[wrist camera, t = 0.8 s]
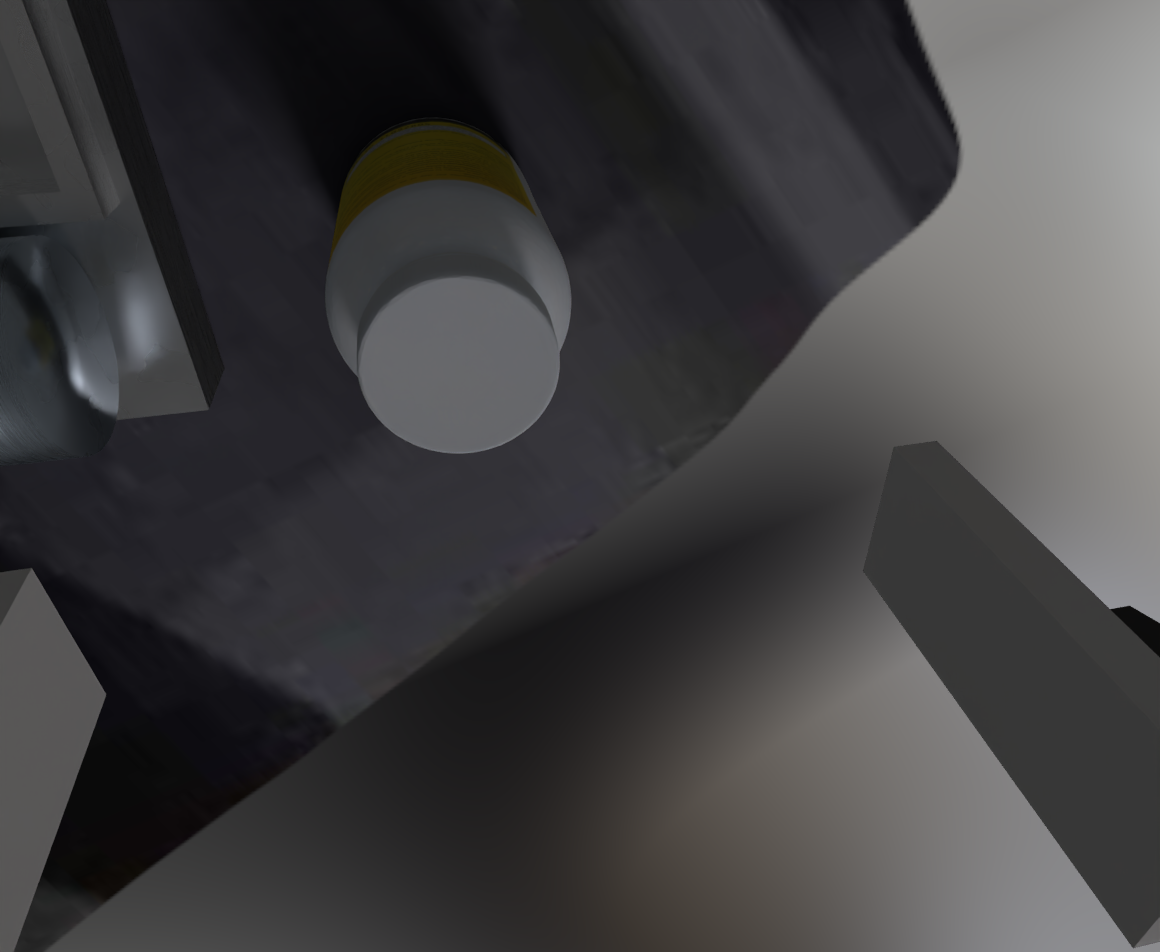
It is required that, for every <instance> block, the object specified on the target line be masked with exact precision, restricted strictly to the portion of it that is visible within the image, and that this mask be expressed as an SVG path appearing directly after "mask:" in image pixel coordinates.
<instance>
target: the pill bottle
mask: <svg viewBox="0 0 1160 952" xmlns="http://www.w3.org/2000/svg"><path fill="white" fill-rule="evenodd" d="M325 301H326V313H327V319H328V323H329V327H330V331H331V334H332V336H333V339H334V342H335V344H336V346H337V348H338V350H339V352H340V354H341V355H342V357H343V359H344V360H345V362H346V363H347V365H348V366H349V367H350V369H351V370H352V371H353V372H354V373H355V375H356V376H357V377H358V379H359V383H360V387H361V390H362V393H363V395H364V397H365V399H366V401H367V403H368V405H369V407H370V409H371V410H372V411H373V413H374V414H375V415H376V417H377V418H378V419H379V420H380V421H381V422H382V423H383V424H384V425H385V426H386V427H387V428H388V429H389V430H391V431H392V432H393V433H394V434H396V435H397V436H399V437H401V438H402V439H404V440H406V441H408V442H410V443H412V444H414V445H416V446H419V447H422V448H425V449H428V450H433V451H438V452H444V453H472V452H479V451H483V450H488V449H491V448H493V447H497V446H500V445H502V444H504V443H506V442H508V441H510V440H512V439H514V438H515V437H517V436H519V435H520V434H522V433H523V432H524V431H525V430H527V429H528V428H529V427H530V426H531V425H532V424H533V423H534V422H535V421H536V420H537V419H538V418H539V417H540V416H541V414H542V413H543V412H544V410H545V409H546V407H547V406H548V404H549V402H550V400H551V398H552V396H553V394H554V391H555V389H556V386H557V381H558V377H559V369H560V353H559V352H560V350H561V347H562V345H563V343H564V340H565V337H566V334H567V331H568V326H569V321H570V313H571V289H570V282H569V277H568V273H567V270H566V266H565V263H564V260H563V258H562V255H561V253H560V251H559V249H558V247H557V245H556V243H555V241H554V239H553V237H552V235H551V233H550V231H549V229H548V227H547V225H546V223H545V221H544V219H543V217H542V215H541V213H540V211H539V209H538V207H537V205H536V203H535V201H534V198H533V196H532V194H531V191H530V189H529V186H528V184H527V182H526V180H525V178H524V176H523V174H522V172H521V170H520V169H519V167H518V166H517V164H516V162H515V161H514V159H513V158H512V157H511V156H510V154H509V153H508V152H507V151H506V150H505V149H504V148H503V147H502V146H501V145H500V144H499V143H498V142H497V141H495V140H494V139H493V138H492V137H490V136H489V135H487V134H486V133H484V132H483V131H481V130H479V129H477V128H475V127H473V126H471V125H468V124H466V123H463V122H460V121H456V120H451V119H446V118H420V119H413V120H409V121H406V122H403V123H400V124H397V125H395V126H392V127H391V128H389V129H387V130H385V131H383V132H382V133H380V134H379V135H378V136H376V137H375V138H374V139H373V140H371V141H370V142H369V143H368V144H367V145H366V146H365V147H364V148H363V149H362V151H361V152H360V153H359V155H358V156H357V157H356V159H355V161H354V162H353V164H352V166H351V168H350V170H349V172H348V174H347V177H346V179H345V182H344V185H343V189H342V194H341V200H340V205H339V210H338V216H337V221H336V226H335V231H334V238H333V243H332V249H331V255H330V261H329V266H328V272H327V278H326V286H325Z"/></svg>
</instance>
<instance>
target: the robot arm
mask: <svg viewBox="0 0 1160 952" xmlns="http://www.w3.org/2000/svg"><path fill="white" fill-rule="evenodd" d="M863 571H864V573H865V574H866V576H867V577H868V578H869V580H870V581H871V583H872V584H873V585H874V587H875V588H876V590H877V591H878V593H879V594H880V595H881V597H882V598H883V600H884V601H885V602H886V604H887V605H888V606H889V608H890V609H891V611H892V612H893V613H894V615H895V616H896V618H897V619H898V620H899V622H900V623H901V625H902V626H903V627H904V629H905V630H906V632H907V633H908V634H909V636H910V637H911V638H912V640H913V641H914V643H915V644H916V646H917V647H918V648H919V650H920V651H921V653H922V654H923V655H924V657H925V658H926V660H927V661H928V662H929V664H930V665H931V667H932V668H933V669H934V671H935V672H936V673H937V675H938V676H939V678H940V679H941V680H942V682H943V683H944V685H945V686H946V688H947V689H948V690H949V692H950V693H951V694H952V696H953V697H954V699H955V700H956V701H957V703H958V704H959V706H960V707H961V708H962V710H963V711H964V713H965V714H966V715H967V717H968V718H969V720H970V721H971V722H972V724H973V725H974V727H975V728H976V729H977V731H978V732H979V734H980V735H981V736H982V738H983V739H984V741H985V742H986V743H987V745H988V746H989V748H990V749H991V750H992V752H993V753H994V755H995V756H996V757H997V759H998V760H999V762H1000V763H1001V764H1002V766H1003V767H1004V768H1005V770H1006V771H1007V773H1008V774H1009V775H1010V777H1011V778H1012V780H1013V781H1014V782H1015V784H1016V785H1017V787H1018V788H1019V789H1020V791H1021V792H1022V794H1023V795H1024V796H1025V798H1026V799H1027V801H1028V802H1029V803H1030V805H1031V806H1032V808H1033V809H1034V810H1035V812H1036V813H1037V815H1038V816H1039V817H1040V819H1041V820H1042V822H1043V823H1044V824H1045V826H1046V827H1047V829H1048V830H1049V831H1050V833H1051V834H1052V836H1053V837H1054V838H1055V840H1056V841H1057V842H1058V844H1059V845H1060V847H1061V848H1062V850H1063V851H1064V852H1065V854H1066V855H1067V856H1068V858H1069V859H1070V861H1071V862H1072V863H1073V865H1074V866H1075V868H1076V869H1077V870H1078V872H1079V873H1080V874H1081V876H1082V877H1083V879H1084V880H1085V881H1086V883H1087V884H1088V886H1089V887H1090V889H1091V890H1092V891H1093V893H1094V894H1095V896H1096V897H1097V898H1098V900H1099V901H1100V903H1101V904H1102V905H1103V907H1104V908H1105V909H1106V911H1107V912H1108V914H1109V915H1110V916H1111V918H1112V919H1113V921H1114V922H1115V923H1116V925H1117V926H1118V928H1119V929H1120V930H1121V932H1122V933H1123V935H1124V936H1125V937H1126V939H1127V940H1128V942H1129V943H1130V944H1131V946H1132V947H1133V948H1136V947H1140V946H1144V945H1148V944H1153V943H1156V942H1160V623H1158V622H1157V621H1155V620H1153V619H1152V618H1150V617H1148V616H1146V615H1145V614H1143V613H1141V612H1139V611H1138V610H1136V609H1134V608H1133V607H1131V606H1126V607H1120V608H1115V609H1109V608H1108V607H1107V606H1106V605H1105V604H1104V603H1103V602H1102V601H1101V600H1100V599H1099V598H1098V597H1097V596H1096V595H1095V594H1094V593H1093V592H1092V591H1091V590H1090V589H1089V588H1088V587H1086V586H1085V585H1084V584H1083V583H1082V582H1081V581H1080V580H1079V579H1078V578H1077V577H1076V576H1075V575H1074V574H1073V573H1072V572H1071V571H1070V570H1069V569H1068V568H1067V567H1066V566H1065V565H1064V564H1063V563H1062V562H1061V561H1060V560H1059V559H1058V558H1057V557H1056V556H1055V555H1054V554H1053V553H1051V552H1050V551H1049V550H1048V549H1047V548H1046V547H1045V546H1044V545H1043V544H1042V543H1041V542H1040V541H1039V540H1038V539H1037V538H1036V537H1035V536H1034V535H1033V534H1032V533H1031V532H1030V531H1029V530H1028V529H1027V528H1026V527H1024V525H1022V523H1021V522H1019V520H1018V519H1016V518H1015V517H1014V516H1013V515H1012V514H1011V513H1010V512H1009V511H1008V510H1007V509H1006V508H1005V507H1004V506H1003V505H1002V504H1001V503H1000V502H999V501H998V500H997V499H996V498H995V497H994V496H993V495H992V494H991V493H990V492H989V491H988V490H987V489H986V488H985V487H984V486H983V485H981V484H980V483H979V482H978V481H977V480H976V479H975V478H974V477H973V476H972V475H971V474H970V473H969V472H968V471H967V470H966V469H965V468H964V467H963V466H962V465H961V464H960V463H959V462H958V461H957V460H956V459H955V458H953V456H952V455H951V454H950V453H949V452H947V451H946V450H945V449H944V448H943V447H942V446H941V445H940V444H939V443H938V442H937V441H933V442H926V443H919V444H912V445H904V446H898V447H894V449H893V452H892V457H891V461H890V464H889V469H888V473H887V477H886V481H885V485H884V489H883V493H882V497H881V501H880V505H879V509H878V513H877V517H876V521H875V525H874V529H873V533H872V537H871V541H870V545H869V549H868V553H867V557H866V561H865V565H864V569H863ZM105 696H106V693H105V692H104V690H103V688H102V687H101V685H100V683H99V682H98V680H97V678H96V676H95V675H94V673H93V671H92V670H91V668H90V666H89V665H88V663H87V661H86V660H85V658H84V656H83V654H82V653H81V651H80V649H79V648H78V646H77V644H76V643H75V641H74V639H73V637H72V636H71V634H70V632H69V631H68V629H67V627H66V626H65V624H64V622H63V620H62V619H61V617H60V615H59V614H58V612H57V610H56V609H55V607H54V605H53V604H52V602H51V600H50V598H49V597H48V595H47V593H46V592H45V590H44V588H43V587H42V585H41V583H40V581H39V580H38V578H37V576H36V575H35V573H34V571H33V570H32V568H29V569H22V570H15V571H8V572H1V573H0V952H14V949H15V946H16V943H17V940H18V938H19V935H20V932H21V929H22V927H23V924H24V921H25V918H26V915H27V913H28V910H29V907H30V904H31V902H32V899H33V896H34V893H35V891H36V888H37V885H38V882H39V879H40V877H41V874H42V871H43V868H44V866H45V863H46V860H47V857H48V854H49V852H50V849H51V846H52V843H53V841H54V838H55V835H56V832H57V830H58V827H59V824H60V821H61V818H62V816H63V813H64V810H65V807H66V805H67V802H68V799H69V796H70V793H71V791H72V788H73V785H74V782H75V780H76V777H77V774H78V771H79V769H80V766H81V763H82V760H83V757H84V755H85V752H86V749H87V746H88V744H89V741H90V738H91V735H92V732H93V730H94V727H95V724H96V721H97V719H98V716H99V713H100V710H101V708H102V705H103V702H104V699H105Z"/></svg>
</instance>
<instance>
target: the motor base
mask: <svg viewBox="0 0 1160 952" xmlns="http://www.w3.org/2000/svg"><path fill="white" fill-rule="evenodd" d="M224 369H225V368H224V365H223V362H222V359H221V356H220V353H219V350H218V347H217V344H216V341H215V337H214V334H213V331H212V328H211V325H210V322H209V319H208V316H207V313H206V310H205V307H204V303H203V300H202V297H201V294H200V291H199V288H198V285H197V282H196V279H195V276H194V272H193V269H192V266H191V263H190V260H189V257H188V254H187V251H186V248H185V245H184V242H183V238H182V235H181V232H180V229H179V226H178V223H177V220H176V217H175V214H174V211H173V207H172V204H171V201H170V198H169V195H168V192H167V189H166V186H165V183H164V180H163V176H162V173H161V170H160V167H159V164H158V161H157V158H156V155H155V152H154V149H153V146H152V142H151V139H150V136H149V133H148V130H147V127H146V124H145V121H144V118H143V115H142V111H141V108H140V105H139V102H138V99H137V96H136V93H135V90H134V87H133V84H132V81H131V77H130V74H129V71H128V68H127V65H126V62H125V59H124V56H123V53H122V50H121V46H120V43H119V40H118V37H117V34H116V31H115V28H114V25H113V22H112V19H111V15H110V12H109V9H108V6H107V3H106V0H0V466H9V465H18V464H27V463H35V462H44V461H53V460H61V459H70V458H79V457H87V456H91V455H95V454H96V453H98V452H99V451H101V450H102V449H103V448H104V447H105V445H106V444H107V442H108V441H109V439H110V437H111V435H112V433H113V430H114V426H115V423H116V420H120V419H129V418H138V417H147V416H156V415H166V414H175V413H184V412H193V411H202V410H209V408H210V406H211V403H212V400H213V398H214V395H215V392H216V390H217V387H218V385H219V382H220V379H221V377H222V374H223V371H224Z"/></svg>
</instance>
